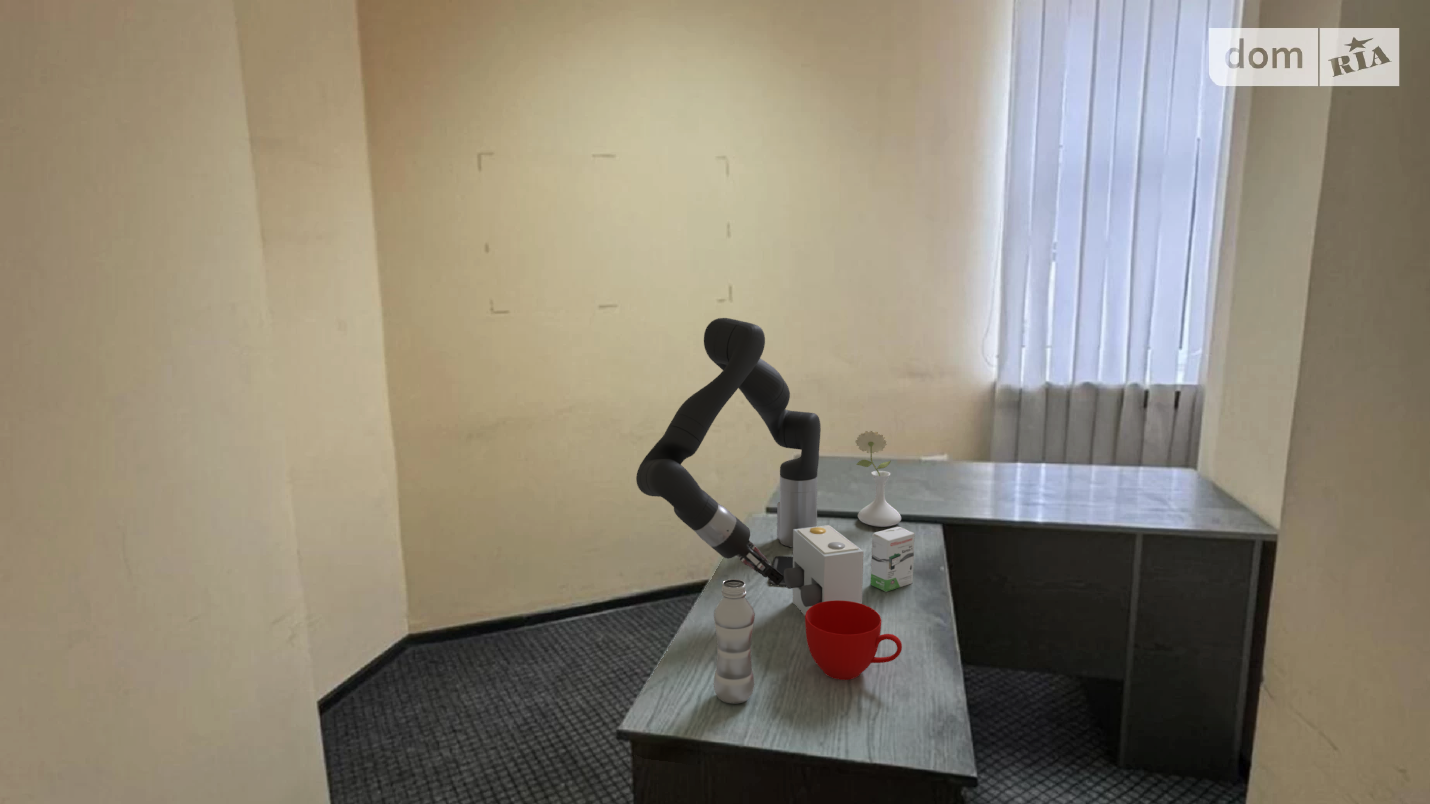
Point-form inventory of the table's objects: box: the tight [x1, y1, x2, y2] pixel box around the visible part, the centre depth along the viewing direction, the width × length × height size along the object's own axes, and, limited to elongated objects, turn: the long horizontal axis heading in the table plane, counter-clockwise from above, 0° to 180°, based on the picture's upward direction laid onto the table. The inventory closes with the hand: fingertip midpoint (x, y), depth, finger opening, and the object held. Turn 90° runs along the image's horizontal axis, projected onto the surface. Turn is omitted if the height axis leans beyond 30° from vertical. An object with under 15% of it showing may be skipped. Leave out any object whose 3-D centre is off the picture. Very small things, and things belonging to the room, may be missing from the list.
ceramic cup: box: [804, 600, 903, 681], centre depth 133 cm, size 13×17×10 cm
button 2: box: [801, 583, 822, 607], centre depth 148 cm, size 4×4×4 cm
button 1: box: [784, 567, 804, 589], centre depth 156 cm, size 4×4×4 cm
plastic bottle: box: [713, 578, 756, 705], centre depth 125 cm, size 6×7×20 cm
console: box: [792, 524, 864, 616], centre depth 153 cm, size 8×15×16 cm, turn 17°
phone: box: [768, 555, 793, 587], centre depth 176 cm, size 8×1×15 cm
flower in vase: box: [855, 430, 902, 528], centre depth 205 cm, size 13×11×25 cm
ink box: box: [870, 526, 916, 593], centre depth 168 cm, size 9×5×12 cm, turn 123°
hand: (779, 579), depth 155 cm, fingers closed
